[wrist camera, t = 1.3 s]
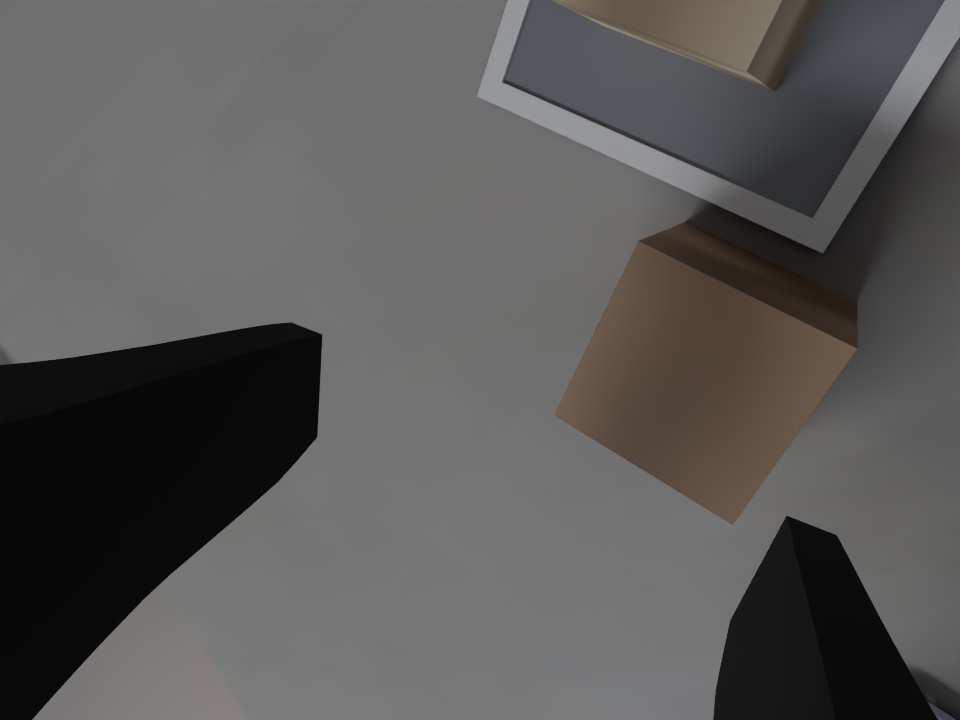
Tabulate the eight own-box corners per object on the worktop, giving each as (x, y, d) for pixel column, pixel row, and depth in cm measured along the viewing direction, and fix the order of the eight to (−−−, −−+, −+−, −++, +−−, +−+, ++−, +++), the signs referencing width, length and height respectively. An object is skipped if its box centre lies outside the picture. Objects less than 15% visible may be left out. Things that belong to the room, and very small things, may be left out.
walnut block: (856, 301, 16) (857, 348, 12) (758, 445, 18) (732, 524, 14) (686, 221, 17) (638, 241, 13) (613, 363, 19) (554, 415, 15)
